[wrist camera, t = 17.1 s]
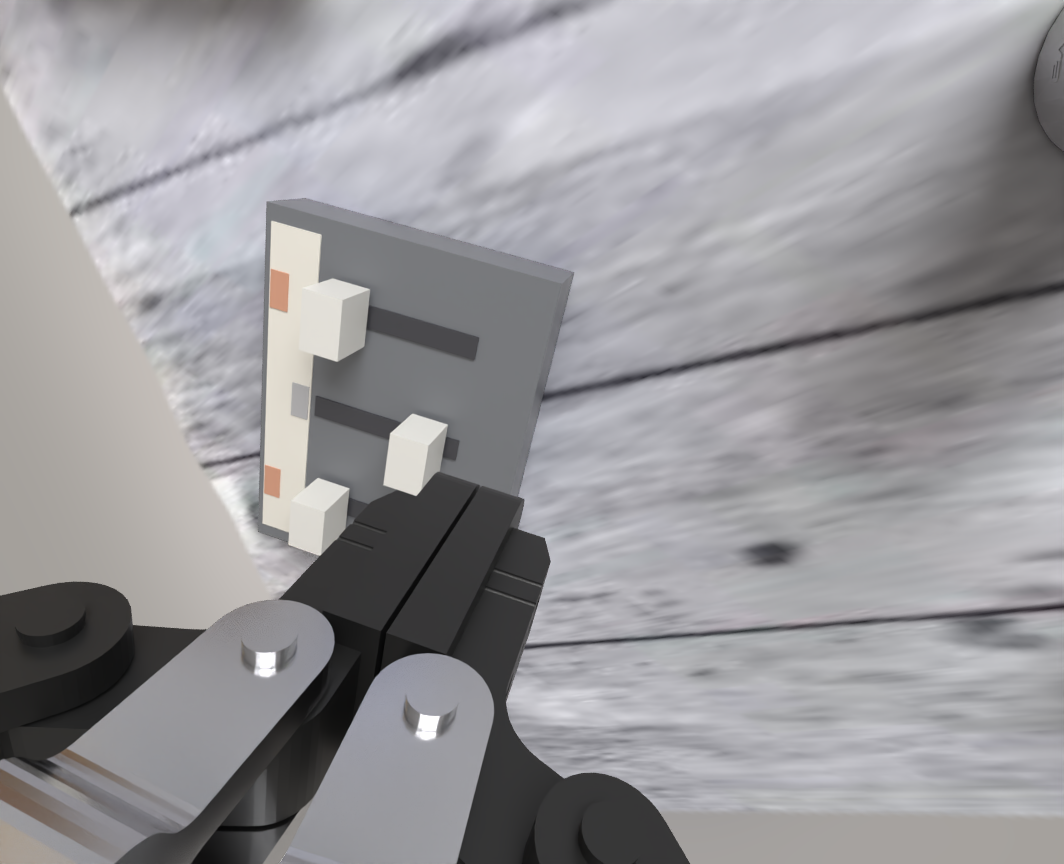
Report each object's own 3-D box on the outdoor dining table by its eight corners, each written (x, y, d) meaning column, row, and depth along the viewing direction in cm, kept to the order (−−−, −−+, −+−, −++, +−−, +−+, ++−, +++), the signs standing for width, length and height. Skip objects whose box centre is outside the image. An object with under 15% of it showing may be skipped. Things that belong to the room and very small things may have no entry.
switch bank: (574, 272, 37) (561, 284, 33) (497, 576, 47) (481, 611, 44) (305, 198, 39) (264, 201, 35) (289, 505, 49) (256, 532, 46)
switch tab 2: (349, 488, 42) (324, 512, 39) (345, 530, 43) (320, 556, 40) (317, 477, 42) (290, 500, 39) (314, 519, 44) (288, 544, 41)
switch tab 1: (370, 289, 36) (342, 300, 33) (364, 346, 37) (337, 361, 34) (332, 278, 36) (302, 288, 33) (328, 335, 37) (298, 350, 35)
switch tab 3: (448, 424, 38) (428, 445, 35) (439, 473, 39) (420, 497, 37) (412, 413, 38) (390, 433, 35) (405, 462, 40) (383, 485, 37)
